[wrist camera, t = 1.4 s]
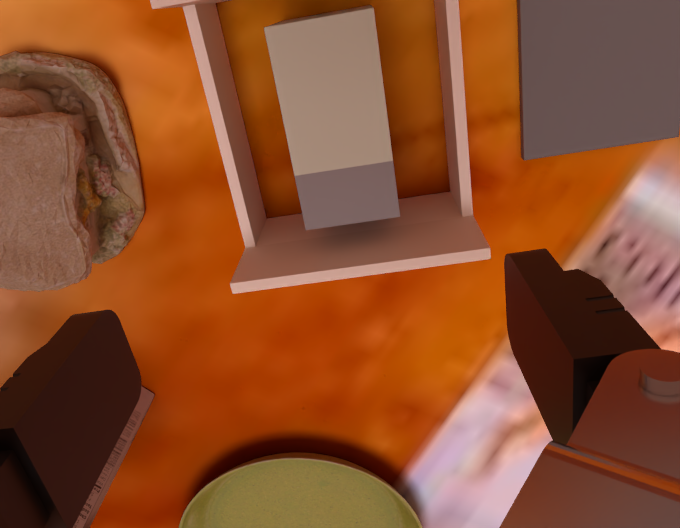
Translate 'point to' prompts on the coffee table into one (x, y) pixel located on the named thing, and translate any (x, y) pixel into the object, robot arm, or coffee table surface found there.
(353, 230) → the carton
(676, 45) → the mat
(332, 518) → the saucer
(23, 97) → the ceramic model
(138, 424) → the coffee box
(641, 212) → the coffee table surface
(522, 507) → the robot arm
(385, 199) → the box
